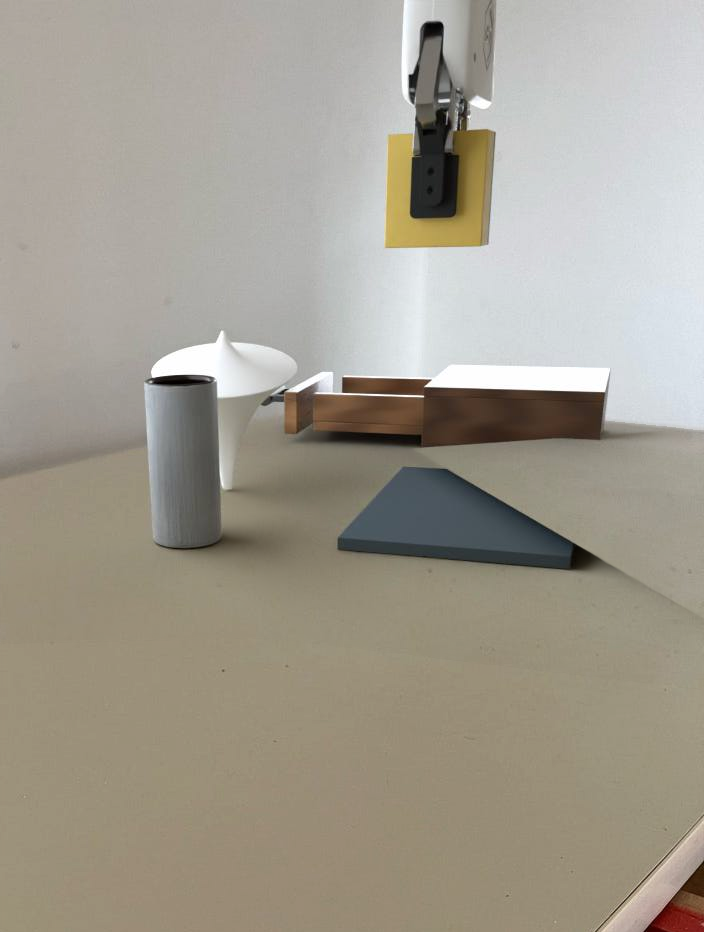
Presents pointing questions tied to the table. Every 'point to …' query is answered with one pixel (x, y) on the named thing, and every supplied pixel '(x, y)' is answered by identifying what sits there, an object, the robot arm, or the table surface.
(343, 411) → the drawer
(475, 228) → the sponge
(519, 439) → the cabinet
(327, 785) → the table surface
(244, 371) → the white spinning top
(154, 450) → the planter
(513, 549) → the mat
